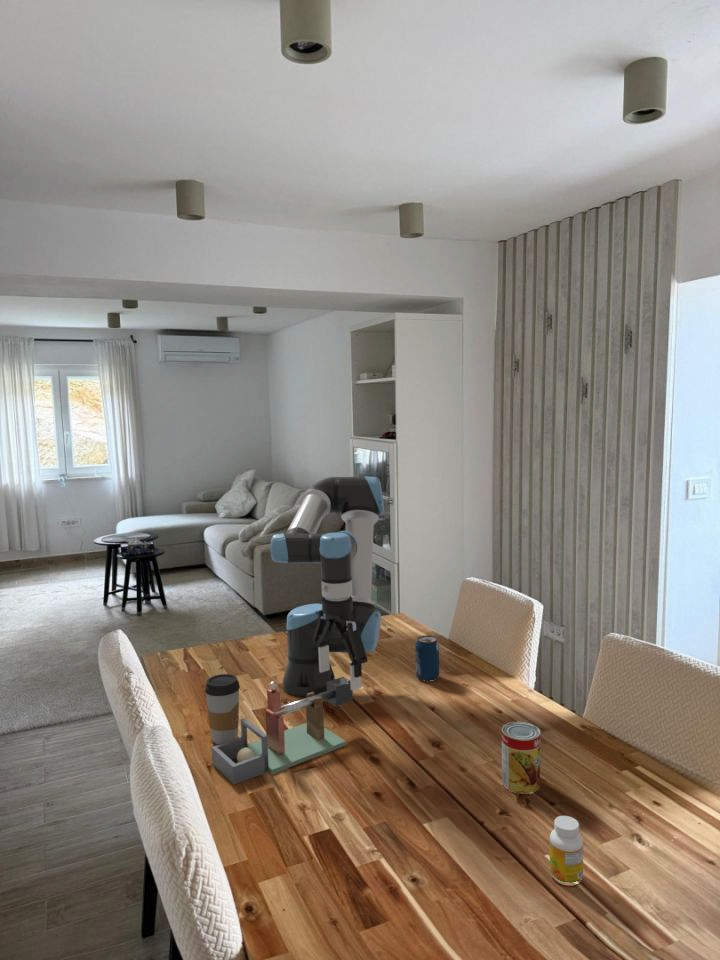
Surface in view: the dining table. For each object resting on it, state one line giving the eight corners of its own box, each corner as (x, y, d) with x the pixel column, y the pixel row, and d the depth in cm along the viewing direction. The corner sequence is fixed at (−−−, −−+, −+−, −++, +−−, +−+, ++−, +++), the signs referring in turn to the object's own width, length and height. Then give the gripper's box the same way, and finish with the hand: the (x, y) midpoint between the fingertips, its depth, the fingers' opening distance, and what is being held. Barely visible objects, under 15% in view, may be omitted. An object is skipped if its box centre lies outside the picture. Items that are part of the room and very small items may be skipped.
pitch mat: (313, 724, 171) (313, 720, 171) (345, 745, 160) (345, 741, 160) (242, 749, 159) (242, 745, 159) (272, 774, 148) (272, 769, 148)
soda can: (443, 676, 199) (442, 637, 198) (433, 684, 194) (432, 644, 192) (422, 671, 203) (421, 633, 202) (411, 679, 197) (411, 640, 196)
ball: (230, 753, 152) (238, 765, 153) (239, 760, 148) (246, 773, 150) (245, 741, 153) (252, 753, 155) (253, 747, 150) (260, 760, 152)
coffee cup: (234, 748, 159) (231, 688, 158) (201, 745, 161) (198, 685, 160) (247, 731, 168) (244, 674, 166) (215, 729, 169) (213, 672, 168)
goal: (245, 751, 158) (244, 718, 157) (268, 771, 149) (267, 735, 148) (212, 763, 153) (210, 729, 152) (234, 784, 144) (232, 748, 143)
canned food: (546, 792, 138) (546, 737, 137) (510, 797, 137) (510, 741, 136) (530, 772, 146) (530, 719, 145) (496, 776, 145) (496, 723, 144)
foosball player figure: (313, 734, 165) (311, 691, 164) (324, 742, 162) (323, 697, 160) (307, 736, 164) (305, 693, 163) (318, 744, 160) (316, 700, 159)
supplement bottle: (544, 866, 116) (545, 814, 115) (575, 864, 117) (575, 811, 116) (556, 888, 111) (557, 833, 110) (588, 886, 111) (588, 831, 110)
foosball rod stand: (341, 717, 171) (340, 656, 169) (355, 726, 166) (354, 663, 165) (265, 745, 158) (262, 678, 156) (278, 755, 153) (275, 687, 151)
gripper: (297, 588, 171) (300, 667, 174) (355, 612, 152) (357, 701, 154) (321, 583, 176) (324, 660, 179) (380, 605, 156) (382, 692, 159)
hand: (339, 679), depth 167 cm, fingers open, 13 cm apart
